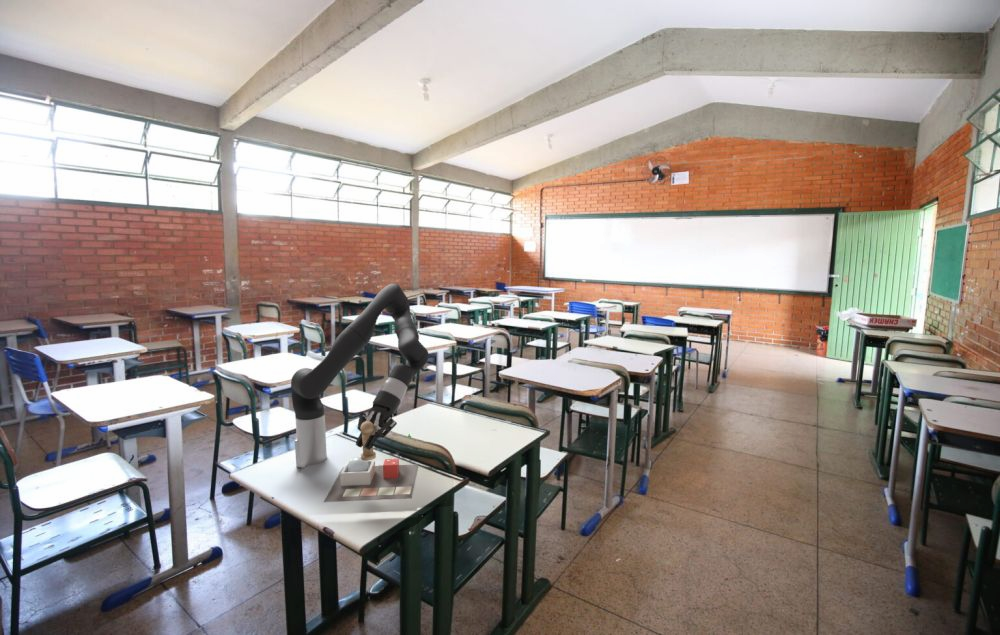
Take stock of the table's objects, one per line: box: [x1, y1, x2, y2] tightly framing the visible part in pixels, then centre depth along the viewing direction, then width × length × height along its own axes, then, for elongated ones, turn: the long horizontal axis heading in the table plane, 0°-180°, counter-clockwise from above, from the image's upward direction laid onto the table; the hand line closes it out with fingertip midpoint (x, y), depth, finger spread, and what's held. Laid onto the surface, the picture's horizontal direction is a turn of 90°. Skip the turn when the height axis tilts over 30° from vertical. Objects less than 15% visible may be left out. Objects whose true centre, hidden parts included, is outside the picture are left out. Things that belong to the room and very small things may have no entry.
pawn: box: [360, 421, 377, 461], centre depth 138 cm, size 4×4×11 cm
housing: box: [339, 459, 376, 486], centre depth 148 cm, size 9×9×4 cm
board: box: [323, 464, 419, 503], centre depth 146 cm, size 25×22×2 cm
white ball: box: [348, 456, 369, 472], centre depth 148 cm, size 6×6×6 cm
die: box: [382, 458, 400, 479], centre depth 150 cm, size 4×4×4 cm
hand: (362, 447), depth 136 cm, fingers closed on pawn, 3 cm apart
